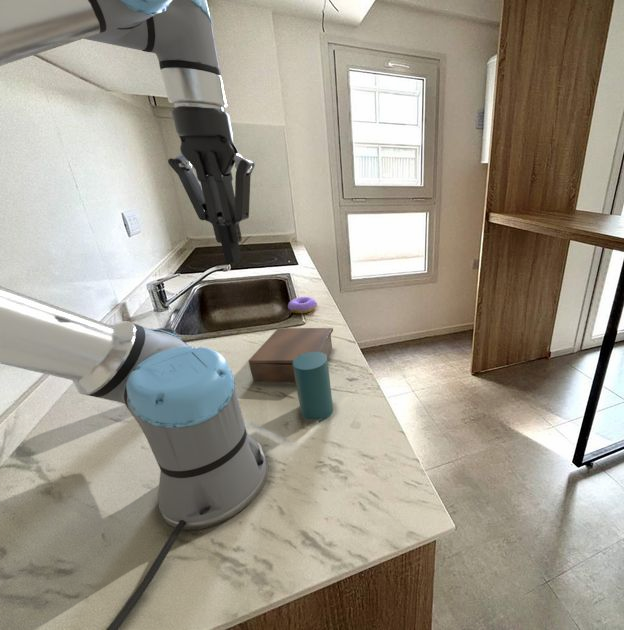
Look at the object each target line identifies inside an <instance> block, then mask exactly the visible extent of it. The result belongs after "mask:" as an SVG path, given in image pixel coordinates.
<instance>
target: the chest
mask: <svg viewBox="0 0 624 630" xmlns="http://www.w3.org/2000/svg"><path fill="white" fill-rule="evenodd" d="M332 350H333V343H332V334H331V335H330V337H329V338H328V340H327V342H326V344H325V345H324V347H323V349H322V350H321V352H320V353H323V354H325V355H326V356H327V358H328V357H329V355H330V353H331V352H332ZM248 365H249V370H250V373H251V378H252V382H255V383H256V382H258V383H291V384H296V381H295V375H294V369H293V363H249V362H248Z"/></svg>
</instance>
